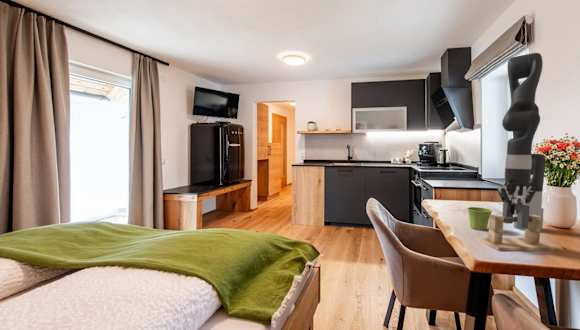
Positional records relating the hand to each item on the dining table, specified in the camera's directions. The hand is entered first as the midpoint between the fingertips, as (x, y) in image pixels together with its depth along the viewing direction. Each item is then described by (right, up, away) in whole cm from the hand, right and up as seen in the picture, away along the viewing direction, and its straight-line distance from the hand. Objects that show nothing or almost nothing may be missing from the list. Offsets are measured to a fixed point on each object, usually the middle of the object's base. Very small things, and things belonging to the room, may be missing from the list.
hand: (515, 214), depth 109 cm
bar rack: (0, -11, +1) cm, 12 cm away
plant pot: (+1, -10, +23) cm, 25 cm away
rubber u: (0, -4, 0) cm, 4 cm away
